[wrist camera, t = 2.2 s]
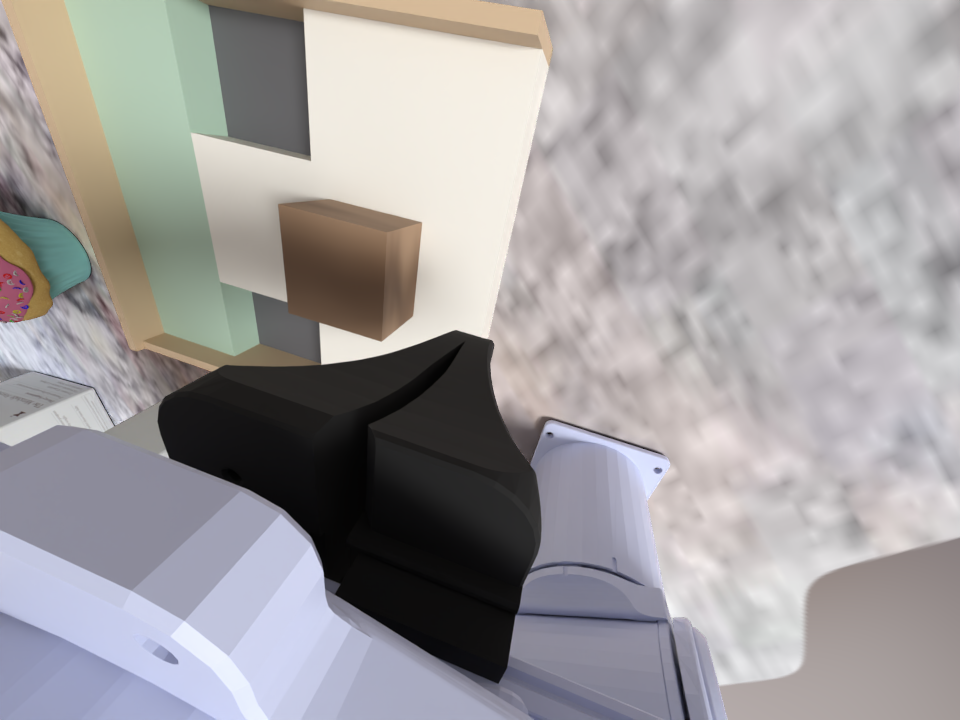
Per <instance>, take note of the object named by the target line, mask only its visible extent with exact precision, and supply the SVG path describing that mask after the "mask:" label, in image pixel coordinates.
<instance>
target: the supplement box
mask: <svg viewBox="0 0 960 720" xmlns="http://www.w3.org/2000/svg"><path fill="white" fill-rule="evenodd" d="M56 425H64V426H74V427H80V428H86V429H92V430H98V431H101V432H105V431H107V430H108V429H110V428H112V427H114V425H113V423H112V421H111V419H110V418H109V416H108V414H107V412H106V410H105V409H104V407H103V405H102V403H101V401H100V399H99V398H98V396H97V394H96V392H95V390H94V389H93V388H90V387H87V386H83V385H80V384H76V383H73V382H69V381H65V380H62V379H58V378H55V377H51V376H48V375H44V374H41V373H37V372H34V371H32V372H29V373H26V374H23V375H20V376H17V377H14V378H11V379H9V380H6V381H3V382H0V442H3V443H5V444H7V445H10V446H14V445H16V444H18V443H20V442H22V441H24V440H26V439H29V438H31V437H33V436H35V435H37V434H39V433H41V432H43V431H45V430H48V429H50V428H52V427H54V426H56Z"/></svg>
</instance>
